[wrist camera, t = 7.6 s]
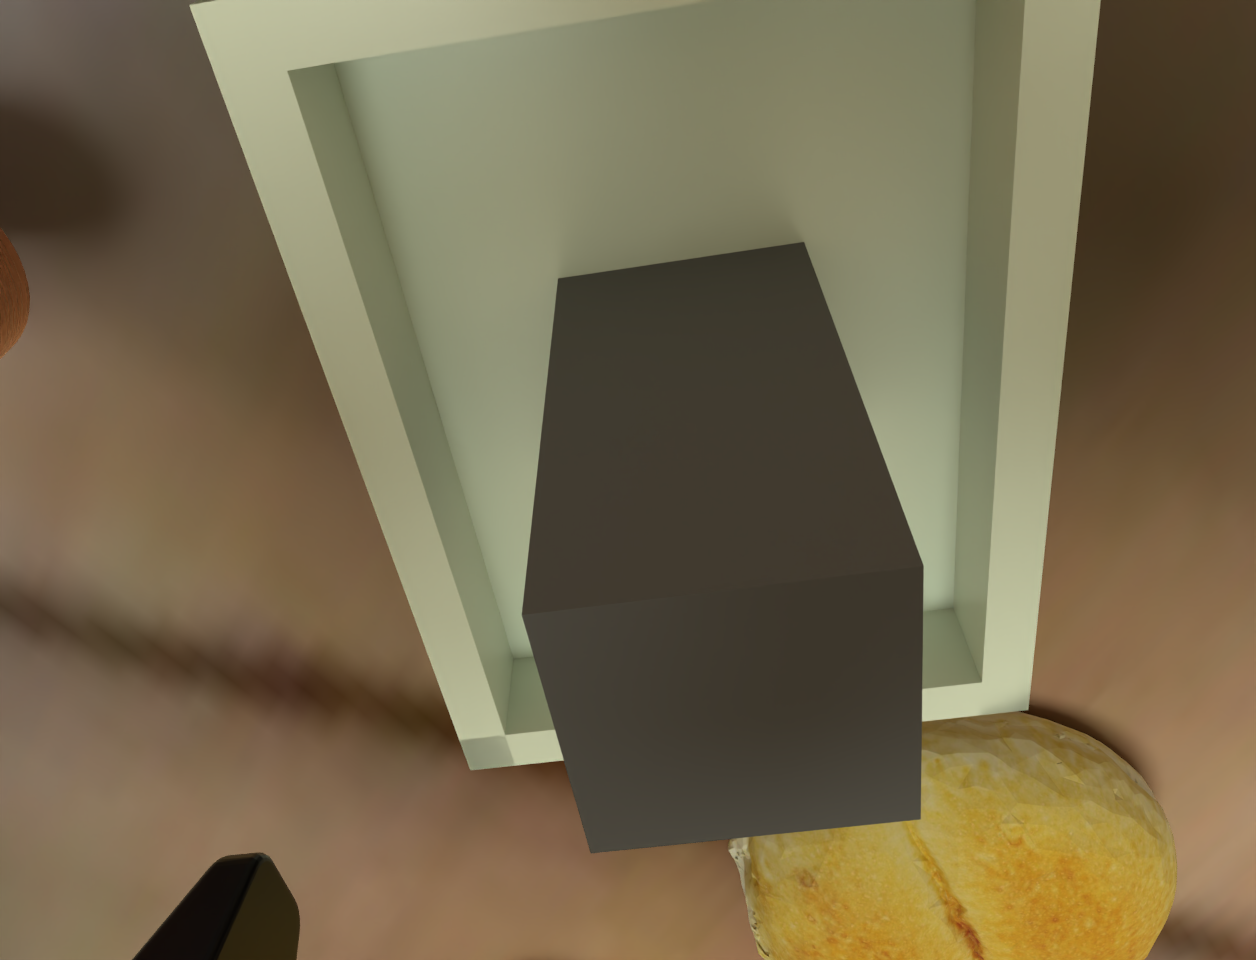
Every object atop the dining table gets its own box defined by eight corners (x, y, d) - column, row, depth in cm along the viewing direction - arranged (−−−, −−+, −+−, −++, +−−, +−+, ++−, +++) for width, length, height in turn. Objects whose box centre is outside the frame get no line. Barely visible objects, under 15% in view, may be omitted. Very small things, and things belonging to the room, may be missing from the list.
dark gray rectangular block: (816, 447, 17) (920, 819, 11) (599, 476, 17) (590, 853, 11) (804, 241, 15) (923, 565, 9) (557, 278, 15) (521, 615, 9)
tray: (1040, -172, 12) (1116, -155, 10) (988, 616, 19) (1028, 710, 18) (250, -35, 13) (189, 5, 11) (484, 674, 20) (470, 770, 18)
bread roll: (1156, 877, 25) (1238, 1050, 21) (788, 953, 26) (813, 1124, 23) (1125, 639, 20) (1223, 813, 17) (684, 750, 22) (696, 927, 19)
